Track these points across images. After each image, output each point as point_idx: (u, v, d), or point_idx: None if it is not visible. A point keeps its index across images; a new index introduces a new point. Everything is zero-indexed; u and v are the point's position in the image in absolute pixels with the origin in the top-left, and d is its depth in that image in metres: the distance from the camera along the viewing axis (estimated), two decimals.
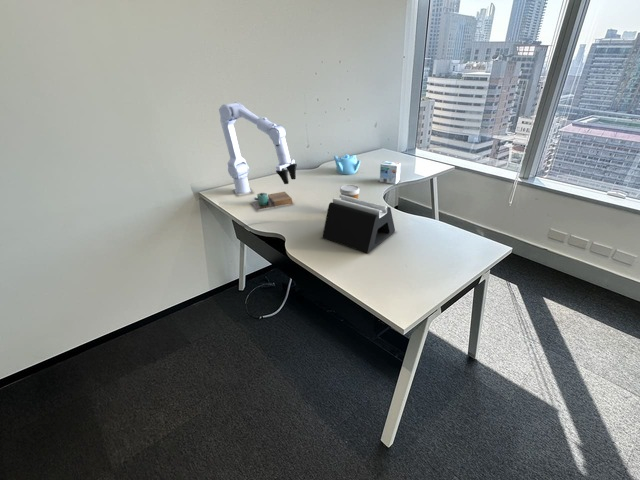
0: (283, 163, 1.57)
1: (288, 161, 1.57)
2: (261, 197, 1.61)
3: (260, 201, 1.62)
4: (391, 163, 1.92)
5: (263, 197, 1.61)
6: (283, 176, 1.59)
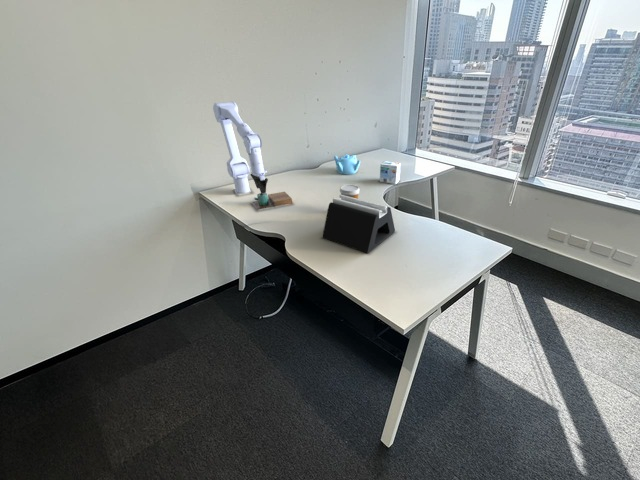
0: (260, 172, 1.54)
1: (263, 170, 1.56)
2: (261, 197, 1.61)
3: (260, 201, 1.62)
4: (391, 163, 1.92)
5: (263, 197, 1.61)
6: (261, 185, 1.56)
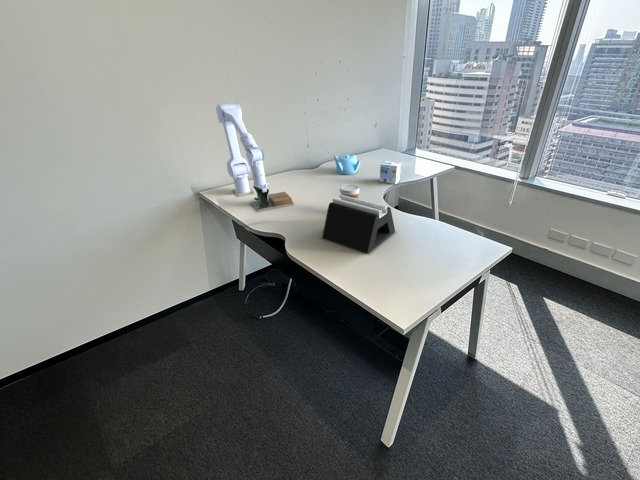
0: (262, 184, 1.57)
1: (265, 181, 1.59)
2: None
3: (260, 201, 1.62)
4: (391, 163, 1.92)
5: None
6: (263, 196, 1.60)
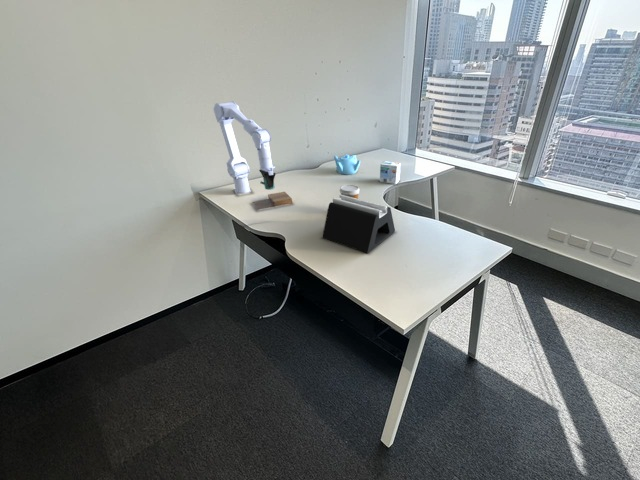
0: (269, 167, 1.55)
1: (272, 165, 1.57)
2: None
3: (266, 185, 1.60)
4: (391, 163, 1.92)
5: None
6: (269, 179, 1.57)
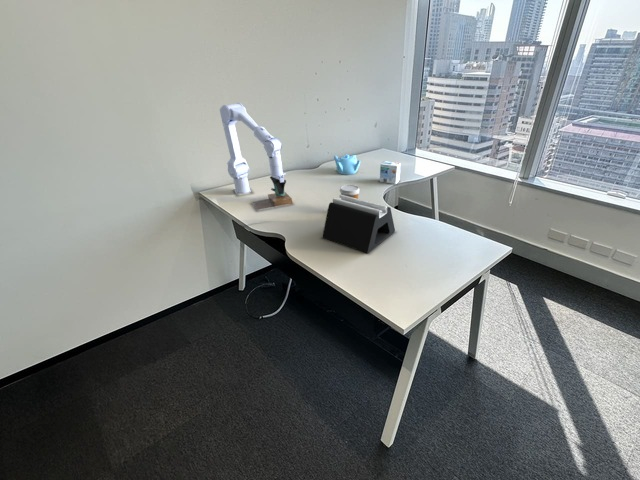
0: (280, 174, 1.59)
1: (282, 172, 1.61)
2: None
3: (277, 192, 1.64)
4: (391, 163, 1.92)
5: None
6: (280, 186, 1.62)
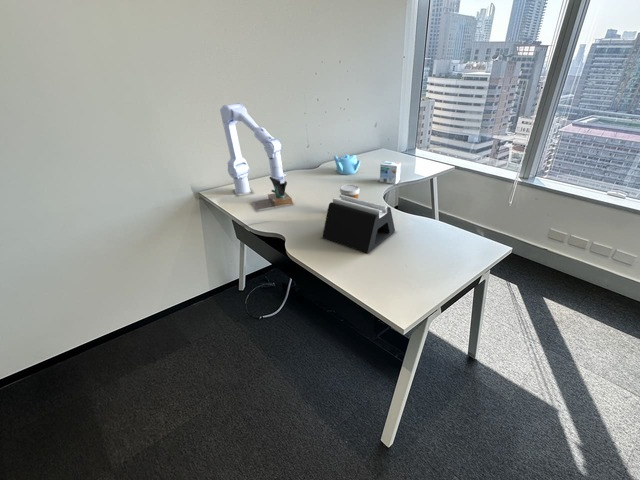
0: (280, 175, 1.59)
1: (282, 173, 1.61)
2: None
3: (277, 193, 1.64)
4: (391, 163, 1.92)
5: None
6: (281, 188, 1.61)
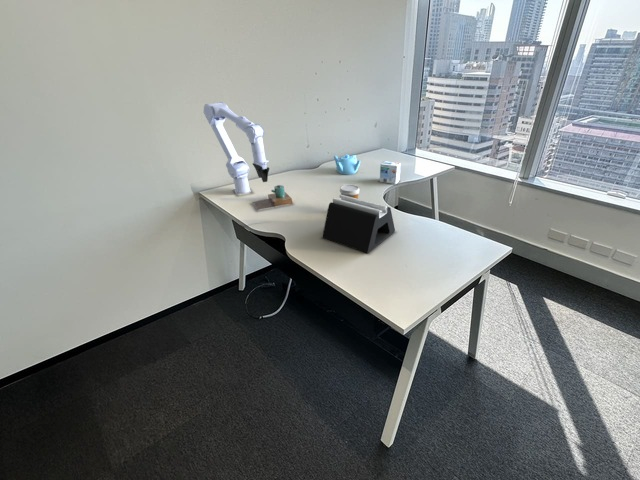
0: (262, 161, 1.59)
1: (265, 159, 1.61)
2: (278, 189, 1.63)
3: (277, 193, 1.64)
4: (391, 163, 1.92)
5: (280, 189, 1.64)
6: (263, 174, 1.61)
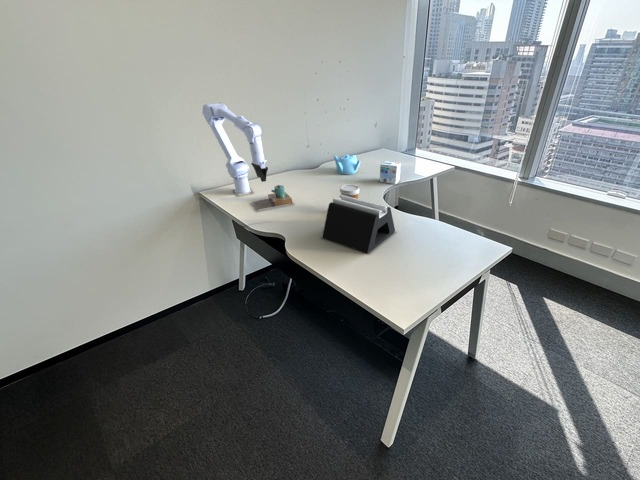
0: (261, 161, 1.60)
1: (264, 159, 1.61)
2: (278, 189, 1.63)
3: (277, 193, 1.64)
4: (391, 163, 1.92)
5: (280, 189, 1.64)
6: (262, 174, 1.61)
